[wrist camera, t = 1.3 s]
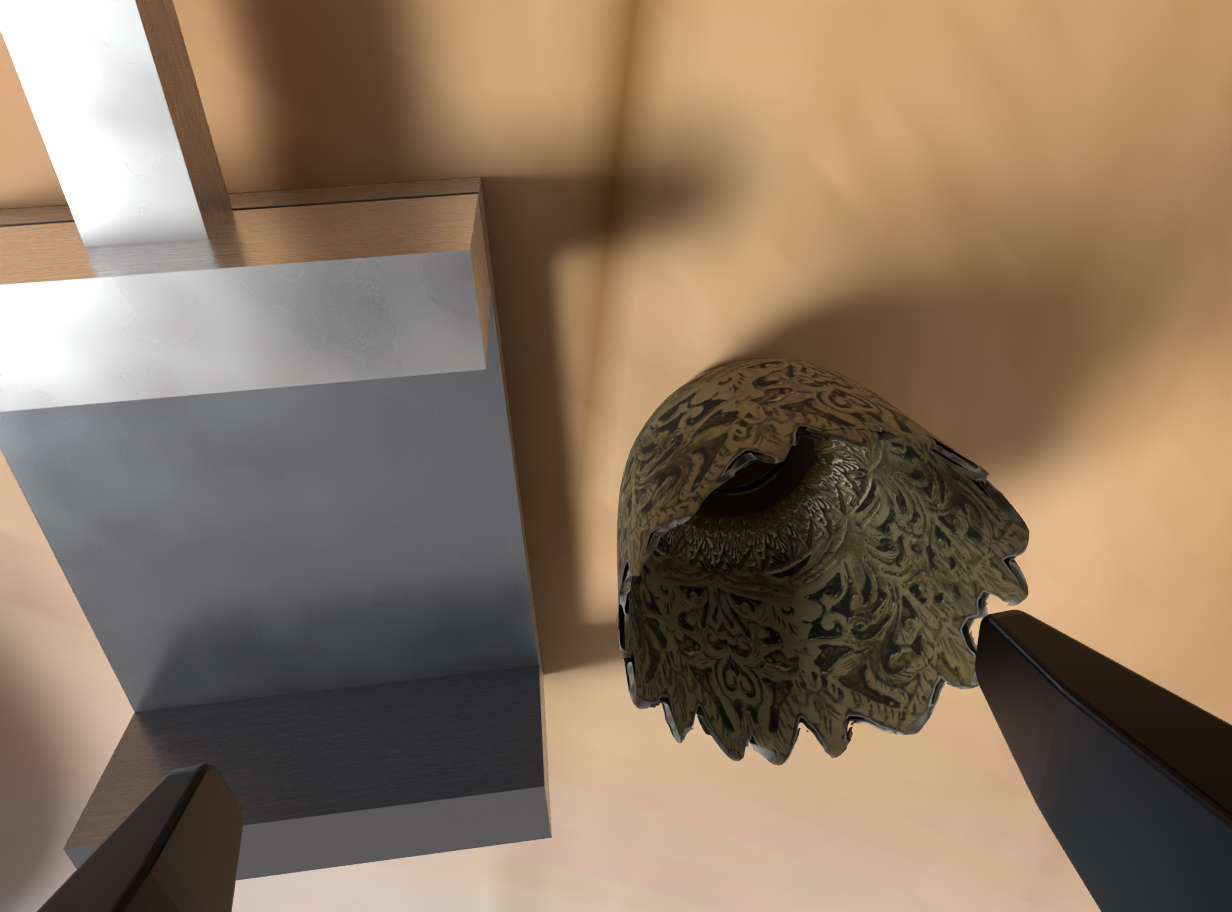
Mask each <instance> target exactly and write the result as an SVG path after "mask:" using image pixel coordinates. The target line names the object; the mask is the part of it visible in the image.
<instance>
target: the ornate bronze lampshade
mask: <svg viewBox="0 0 1232 912" xmlns="http://www.w3.org/2000/svg"><path fill="white" fill-rule="evenodd" d="M988 475H989V474H988V473H987V471H986V470H984V469H983V468H982V467H980V466H978V465H977V464H975V463H973V462H972V461H970V460H968V459H967V458H965V457H963V456H961V455H960V454H958V453H957V452H955V451H954V450H953V449H951V448H950V447H949V446H947V445H946V444H945V443H943V442H942V441H941V440H939V439H938V438H936V437H935V436H934V435H932V434H931V433H930V432H928V431H927V430H926V429H924V428H923V427H921V426H920V425H919V424H917V423H916V422H914V421H913V420H912V419H910V418H909V417H908V416H906V415H905V414H903V413H902V412H900V411H899V410H898V409H896V408H895V407H893V406H892V405H891V404H889V403H888V402H886V401H885V400H883V399H882V398H881V397H879V396H878V395H876V394H875V393H873V392H872V391H870V390H868V389H867V388H865V387H864V386H862V385H860V384H858V383H856V382H854V381H853V380H851V379H849V378H847V377H845V376H843V375H841V374H839V373H837V372H834V371H831V370H829V369H826V368H823V367H820V366H818V365H815V364H811V363H807V362H803V361H799V360H791V359H766V358H762V359H751V360H744V361H739V362H734V363H731V364H727V365H724V366H721V367H718V368H715V369H713V370H710V371H707V372H705V373H702V374H700V375H699V376H697V377H695V378H693V379H692V380H690V381H689V382H688V383H686V384H685V385H683V386H682V387H680V388H679V389H678V390H676V391H675V392H674V393H673V394H672V395H671V396H669V397H668V398H667V399H666V400H665V401H664V402H663V403H662V404H661V405H660V406H659V407H658V408H657V409H656V411H655V412H654V413H653V414H652V416H651V417H650V418H649V420H648V421H647V422H646V424H645V425H644V427H643V428H642V430H641V432H640V433H639V435H638V436H637V438H636V440H635V442H634V445H633V447H632V449H631V451H630V454H629V457H628V460H627V463H626V466H625V470H624V473H623V478H622V483H621V488H620V496H619V505H618V521H617V569H618V599H619V614H618V616H617V630H618V646H619V653H620V658H624V662H625V668H626V674H627V681H628V688H629V692H630V696H631V699H632V701H633V703H634V704H635V705H636V706H637V707H638V708H639V709H644V708H648V706H649V705H650V704H651V705H650V706H649V707H654V708H655V706H658V705H659V704H660V703H662V705H663V709H664V713H665V719H666V722H667V724H668V725H669V727H670V730H671V733H672V735H673V737H674V739H675V740H676V741H677V742H678V743H682V741H683V740H684V739H685V736H686V734H687V733H688V732H689V731H690V730H692V729H693V728H692V726H693V724H694V720H695V715H696V714H697V716H698V720H699V722H700V724H701V726H702V728H703V730H704V732H705V733H706V734H708V735H711V736H712V737H713V739H714V740H715V741H716V743H717V744H718V745H719V747H720V748H721V749H722V750H723V752H724V753H725V754H726V755H727V756H728V757H729V758H730V759H732V760H734V761H740V760H741V759H742V758H743V757H744V753H745V747H746V746H747V747H748V742H749V741H750V742H749V743H750V744H751V745H752V747H753V748H754V750H755V751H756V752H758V753H760V754H761V755H763V756H764V757H765V758H766V759H767V760H768V761H769V762H771V763H772V764H774V765H782V764H783V763H784V762H785V761H786V760H787V759H788V758H789V755H790V754H791V751H792V749H793V747H794V745H795V743H796V741H797V738H798V735H799V731H800V728H799V729H798V724H799V723H800V722H801V723H803V724H804V725H805V726H806V727H807V728H808V729H809V730H811V732H812V733H813V734H814V735H815V737H816V738H817V740H818V741H819V743H820V744H821V746H822V747H823V748H824V749H825V752H826V753H828V754H829V755H830V756H831V757H832V758H836V757H838V756H840V755H841V754H842V753H843V752H844V751H845V750H846V749H847V745H848V743H849V742H850V741H851V737H852V734H853V733H852V731H851V730H852V728H853V727H850V728H849V730H848V733H847V726H848V724H849V722H850V721H854V722H852V723H851V725H853V724H854V723H869V724H871V725H873V726H874V727H875V728H877V729H879V730H882V731H885V732H890V733H895V734H903V735H908V734H916V733H918V732H919V731H920V730H921V729H922V727H923V726H924V725H925V723H926V722H927V721H928V719H929V718H930V716H931V714H932V712H933V710H934V708H935V705H936V703H937V701H938V699H939V696H940V692H941V690H942V688H943V687H944V685H945V681H946V682H948V683H947V684H949V685H951V686H953V687H957V688H959V689H970V688H974V687H977V686H979V683H978V680H977V677H976V673H975V659H976V650H977V645H976V644H975V642H974V638H973V637H972V631H971V633H970V634H969V629H970V627H971V625H972V624H973V622H974V620H975V619H978V618H981V617H982V618H984V617H985V616H986V615H988V612H987V607H986V605H987V603H988V602H987V603H986V600H987V598H988V597H989V595H990V594H992V595H995V596H997V597H998V598H1000V599H1001V600H1002V601H1005V602H1009V603H1008V605H1007V606H1013V605H1017V604H1019V603H1020V602H1022V601H1023V600H1024V599H1026V598H1027V596H1028V586H1027V583H1026V580H1025V577H1024V575H1023V574H1022V572H1021V570H1020V568H1019V566H1018V565H1017V563H1016V561H1015V560H1014V558H1015V557H1016V556H1018V555H1021V554H1022V553H1024V551H1025V550H1026V547H1027V545H1028V541H1029V529H1028V527H1027V525H1026V524H1025V522H1024V521H1023V519H1022V518H1021V516H1020V515H1019V514H1018V512H1017V511H1016V510H1015V509H1014V508H1013V506H1012V505H1011V504H1010V503H1009V502H1008V500H1007V499H1006V498H1005V497H1004V496H1003V494H1002V493H1001V492H999V491H998V490H997V489H996V488H995V487H994V486H993V485H992V484H991V483H989V482H988V481H987V480H986V478H987V476H988ZM982 618H981V619H982ZM973 645H974V646H973ZM863 721H864V722H863ZM807 732H808V730H807ZM748 740H749V741H748Z"/></svg>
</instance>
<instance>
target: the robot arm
mask: <svg viewBox="0 0 1232 912" xmlns="http://www.w3.org/2000/svg"><path fill="white" fill-rule="evenodd" d="M975 673H976V677H977V680H978V683H979V686H980V688H981V690H982V692H983V694H984V696H985V698H986V700H987V703H988V705H989V707H990V709H991V711H992V713H993V715H994V717H995V719H996V721H997V724H998V726H999V728H1000V730H1001V732H1002V734H1003V736H1004V738H1005V740H1006V742H1007V744H1008V747H1009V749H1010V751H1011V753H1012V755H1013V757H1014V759H1015V761H1016V763H1017V765H1018V768H1019V770H1020V772H1021V774H1022V776H1023V778H1024V780H1025V782H1026V784H1027V786H1028V788H1029V790H1030V792H1031V794H1032V796H1033V798H1034V800H1035V802H1036V804H1037V806H1038V808H1039V809H1040V811H1041V813H1042V815H1043V816H1044V818H1045V820H1046V822H1047V823H1048V825H1049V827H1050V828H1051V830H1052V832H1053V833H1054V835H1055V836H1056V838H1057V840H1058V841H1059V843H1060V845H1061V846H1062V848H1063V850H1064V851H1065V853H1066V854H1067V856H1068V858H1069V859H1070V861H1071V863H1072V864H1073V866H1074V868H1075V869H1076V871H1077V873H1078V874H1079V876H1080V877H1081V879H1082V881H1083V882H1084V884H1085V886H1086V887H1087V889H1088V891H1089V892H1090V894H1091V895H1092V897H1093V899H1094V900H1095V902H1096V904H1097V905H1098V907H1099V909H1100V910H1101V912H1232V725H1231V724H1229V723H1227V722H1225V721H1223V720H1222V719H1220V718H1218V717H1216V716H1214V715H1212V714H1211V713H1209V712H1207V711H1205V710H1203V709H1201V708H1200V707H1198V706H1196V705H1194V704H1192V703H1190V702H1189V701H1187V700H1185V699H1183V698H1181V697H1179V696H1178V695H1176V694H1174V693H1172V692H1170V691H1168V690H1167V689H1165V688H1163V687H1161V686H1159V685H1157V684H1156V683H1154V682H1152V681H1150V680H1148V679H1146V678H1145V677H1143V676H1141V675H1139V674H1137V673H1135V672H1134V671H1132V670H1130V669H1128V668H1126V667H1124V666H1123V665H1121V664H1119V663H1117V662H1115V661H1114V660H1112V659H1110V658H1108V657H1106V656H1104V655H1103V654H1101V653H1099V652H1097V651H1095V650H1093V649H1092V648H1090V647H1088V646H1086V645H1084V644H1082V643H1081V642H1079V641H1077V640H1075V639H1073V638H1071V637H1070V636H1068V635H1066V634H1064V633H1062V632H1060V631H1059V630H1057V629H1055V628H1053V627H1051V626H1049V625H1048V624H1046V623H1044V622H1042V621H1040V620H1038V619H1037V618H1035V617H1033V616H1031V615H1029V614H1027V613H1025V612H1023V611H1020V610H1010V611H1004V612H999V613H994V614H989V615H986V616H985V617H984V618H983V619H982V621H981V624H980V630H979V637H978V644H977V651H976V659H975ZM242 830H243V816H242V811H241V807H240V805H239V803H238V801H237V800H236V798H235V796H234V795H233V793H232V792H231V790H230V788H229V787H228V785H227V783H226V782H225V780H224V779H223V777H222V775H221V774H220V772H219V771H218V769H217V768H216V767H215V766H213V765H212V764H210V763H204V764H198V765H193V766H188V767H183V768H178V769H176V770H173V771H172V772H170V773H169V774H168V775H167V776H166V777H165V778H164V779H163V780H162V781H161V782H160V783H159V784H158V785H157V786H156V787H155V788H154V789H153V790H152V791H151V792H150V793H149V794H148V796H147V797H146V798H145V799H144V800H143V801H142V802H141V803H140V804H139V805H138V806H137V807H136V808H135V809H134V810H133V811H132V812H131V813H130V814H129V815H128V817H127V818H126V819H125V820H124V821H123V822H122V823H121V824H120V825H119V826H118V827H117V828H116V829H115V830H114V831H113V832H112V833H111V834H110V835H109V836H108V838H107V839H106V840H105V841H104V842H103V843H102V844H101V845H100V846H99V847H98V848H97V849H96V850H95V851H94V852H93V853H92V854H91V855H90V856H89V858H88V859H87V860H86V861H85V862H84V863H83V864H82V865H81V866H80V867H79V868H78V869H77V870H76V871H75V872H74V873H73V874H72V875H71V876H70V877H69V879H68V880H67V881H66V882H65V883H64V884H63V885H62V886H61V887H60V888H59V889H58V890H57V891H56V892H55V893H54V894H53V895H52V896H51V897H50V898H49V900H48V901H47V902H46V903H45V904H44V905H43V906H42V907H41V908H40V909H39V910H38V911H37V912H232V904H233V897H234V890H235V882H236V875H237V867H238V860H239V852H240V845H241V838H242Z"/></svg>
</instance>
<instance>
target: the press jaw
mask: <svg viewBox="0 0 1232 912" xmlns="http://www.w3.org/2000/svg"><path fill="white" fill-rule="evenodd" d="M0 30H1V32H2V35H3V37H4V40H5V43H6V45H7V48H8V50H9V53H10V55H11V58H12V61H13V63H14V66H15V68H16V71H17V73H18V76H19V79H20V81H21V84H22V86H23V89H24V91H25V94H26V97H27V99H28V102H29V104H30V107H31V109H32V112H33V115H34V117H35V120H36V122H37V125H38V128H39V130H40V133H41V135H42V138H43V140H44V143H45V146H46V148H47V151H48V153H49V156H50V158H51V161H52V164H53V166H54V169H55V171H56V174H57V176H58V179H59V182H60V184H61V187H62V189H63V192H64V194H65V197H66V200H67V202H68V205H69V207H70V210H71V212H72V215H73V218H74V220H75V222H66V223H52V224H37V225H23V226H8V227H0V412H4V411H15V410H26V409H38V408H49V407H61V406H72V405H84V404H95V403H107V402H118V401H130V400H141V399H153V398H164V397H175V396H187V395H198V394H210V393H221V392H233V391H244V390H256V389H267V388H279V387H290V386H302V385H313V384H324V383H336V382H347V381H359V380H370V379H382V378H393V377H405V376H416V375H428V374H439V373H451V372H462V371H474V370H485V369H486V364H487V347H488V330H489V313H490V296H491V290H490V282H489V274H488V266H487V259H486V251H485V243H484V235H483V227H482V220H481V212H480V204H479V196H478V194H469V195H455V196H441V197H426V198H412V199H397V200H383V201H369V202H354V203H340V204H325V205H311V206H297V207H282V208H268V209H253V210H239V211H233V210H232V207H231V203H230V200H229V196H228V193H227V189H226V186H225V182H224V179H223V175H222V172H221V168H220V165H219V161H218V158H217V154H216V151H215V147H214V144H213V140H212V137H211V133H210V130H209V126H208V123H207V119H206V116H205V112H204V109H203V105H202V102H201V98H200V95H199V91H198V88H197V84H196V81H195V77H194V74H193V70H192V67H191V63H190V60H189V56H188V53H187V49H186V46H185V42H184V39H183V35H182V32H181V28H180V25H179V21H178V18H177V14H176V11H175V7H174V4H173V0H0Z"/></svg>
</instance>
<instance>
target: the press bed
mask: <svg viewBox="0 0 1232 912" xmlns="http://www.w3.org/2000/svg"><path fill="white" fill-rule="evenodd" d="M469 194H478V196H479V204H480V212H481V220H482V227H483V235H484V243H485V251H486V259H487V266H488V274H489V282H490V290H491V296H490V313H489V330H488V347H487V364H486V369H485V370H474V371H462V372H451V373H439V374H428V375H416V376H405V377H393V378H382V379H370V380H359V381H347V382H336V383H324V384H313V385H302V386H290V387H279V388H267V389H256V390H244V391H233V392H221V393H210V394H198V395H187V396H175V397H164V398H153V399H141V400H130V401H118V402H107V403H95V404H84V405H72V406H61V407H49V408H38V409H26V410H15V411H4V412H0V449H1V451H2V453H3V455H4V457H5V459H6V461H7V463H8V465H9V467H10V469H11V471H12V473H13V475H14V477H15V478H16V480H17V482H18V484H19V486H20V488H21V490H22V492H23V494H24V496H25V498H26V500H27V502H28V504H29V506H30V508H31V510H32V512H33V514H34V516H35V518H36V520H37V522H38V524H39V525H40V527H41V529H42V531H43V533H44V535H45V537H46V539H47V541H48V543H49V545H50V547H51V549H52V551H53V553H54V555H55V557H56V559H57V561H58V563H59V565H60V567H61V569H62V571H63V572H64V574H65V576H66V578H67V580H68V582H69V584H70V586H71V588H72V590H73V592H74V594H75V596H76V598H77V600H78V602H79V604H80V606H81V608H82V610H83V612H84V614H85V616H86V618H87V619H88V621H89V623H90V625H91V627H92V629H93V631H94V633H95V635H96V637H97V639H98V641H99V643H100V645H101V647H102V649H103V651H104V653H105V655H106V657H107V659H108V661H109V663H110V665H111V667H112V668H113V670H114V672H115V674H116V676H117V678H118V680H119V682H120V684H121V686H122V688H123V690H124V692H125V694H126V696H127V698H128V700H129V702H130V704H131V706H132V708H133V710H134V712H135V713H134V715H133V717H132V719H131V721H130V723H129V725H128V727H127V728H126V730H125V732H124V734H123V736H122V738H121V740H120V742H119V744H118V746H117V748H116V749H115V751H114V753H113V755H112V757H111V759H110V761H109V763H108V765H107V767H106V769H105V771H104V772H103V774H102V776H101V778H100V780H99V782H98V784H97V786H96V788H95V790H94V792H93V794H92V795H91V797H90V799H89V801H88V803H87V805H86V807H85V809H84V811H83V813H82V815H81V817H80V818H79V820H78V822H77V824H76V826H75V828H74V830H73V832H72V834H71V836H70V838H69V840H68V841H67V843H66V845H65V847H64V850H65V852H66V854H67V855H68V857H69V858H70V860H71V861H72V863H73V864H74V866H75V867H76V869H78V868H79V867H80V866H81V865H82V864H83V863H84V862H85V861H86V860H87V859H88V858H89V856H90V855H91V854H92V853H93V852H94V851H95V850H96V849H97V848H98V847H99V846H100V845H101V844H102V843H103V842H104V841H105V840H106V839H107V838H108V836H109V835H110V834H111V833H112V832H113V831H114V830H115V829H116V828H117V827H118V826H119V825H120V824H121V823H122V822H123V821H124V820H125V819H126V818H127V817H128V815H129V814H130V813H131V812H132V811H133V810H134V809H135V808H136V807H137V806H138V805H139V804H140V803H141V802H142V801H143V800H144V799H145V798H146V797H147V796H148V794H149V793H150V792H151V791H152V790H153V789H154V788H155V787H156V786H157V785H158V784H159V783H160V782H161V781H162V780H163V779H164V778H165V777H166V776H167V775H168V774H169V773H170V772H172V771H173V770H176V769H178V768H183V767H188V766H193V765H198V764H204V763H210V764H212V765H213V766H215V767H216V768H217V769H218V771H219V772H220V774H221V775H222V777H223V779H224V780H225V782H226V783H227V785H228V787H229V788H230V790H231V792H232V793H233V795H234V796H235V798H236V800H237V801H238V803H239V805H240V807H241V811H242V816H243V830H242V838H241V845H240V852H239V860H238V867H237V875H236V880H242V879H249V878H257V877H264V876H271V875H279V874H286V873H294V872H301V871H308V870H316V869H323V868H330V867H338V866H345V865H353V864H360V863H367V862H375V861H382V860H389V859H397V858H404V857H412V856H419V855H426V854H434V853H441V852H449V851H456V850H463V849H471V848H478V847H485V846H493V845H500V844H508V843H515V842H522V841H530V840H537V839H544V838H552V835H551V816H550V796H549V777H548V758H547V738H546V719H545V700H544V680H543V670H542V662H541V654H540V646H539V638H538V630H537V622H536V614H535V606H534V598H533V590H532V582H531V574H530V566H529V558H528V550H527V542H526V534H525V526H524V518H523V510H522V502H521V494H520V486H519V478H518V470H517V462H516V454H515V446H514V438H513V430H512V422H511V414H510V406H509V398H508V390H507V382H506V374H505V366H504V358H503V350H502V342H501V334H500V327H499V319H498V311H497V303H496V295H495V287H494V279H493V271H492V263H491V255H490V247H489V239H488V231H487V223H486V215H485V207H484V199H483V191H482V183H481V177H473V178H458V179H443V180H429V181H414V182H399V183H384V184H370V185H355V186H340V187H325V188H310V189H296V190H281V191H266V192H251V193H237V194H228V196H229V200H230V203H231V207H232V210H233V211H239V210H253V209H268V208H282V207H297V206H311V205H325V204H340V203H354V202H369V201H383V200H397V199H412V198H426V197H441V196H455V195H469ZM66 222H75V220H74V218H73V215H72V212H71V210H70V207H69V205H59V206H45V207H30V208H15V209H0V227H8V226H23V225H37V224H52V223H66Z"/></svg>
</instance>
